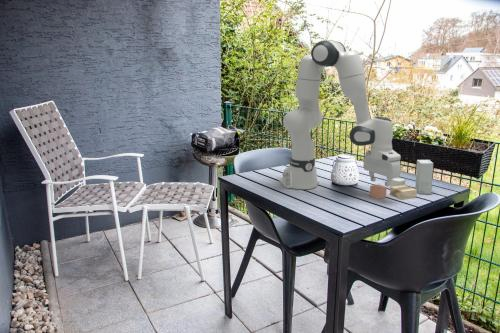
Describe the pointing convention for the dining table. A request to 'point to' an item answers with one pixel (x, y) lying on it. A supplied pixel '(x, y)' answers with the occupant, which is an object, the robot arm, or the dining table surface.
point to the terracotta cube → (378, 191)
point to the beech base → (403, 192)
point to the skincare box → (424, 176)
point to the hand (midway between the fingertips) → (380, 183)
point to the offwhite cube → (397, 182)
